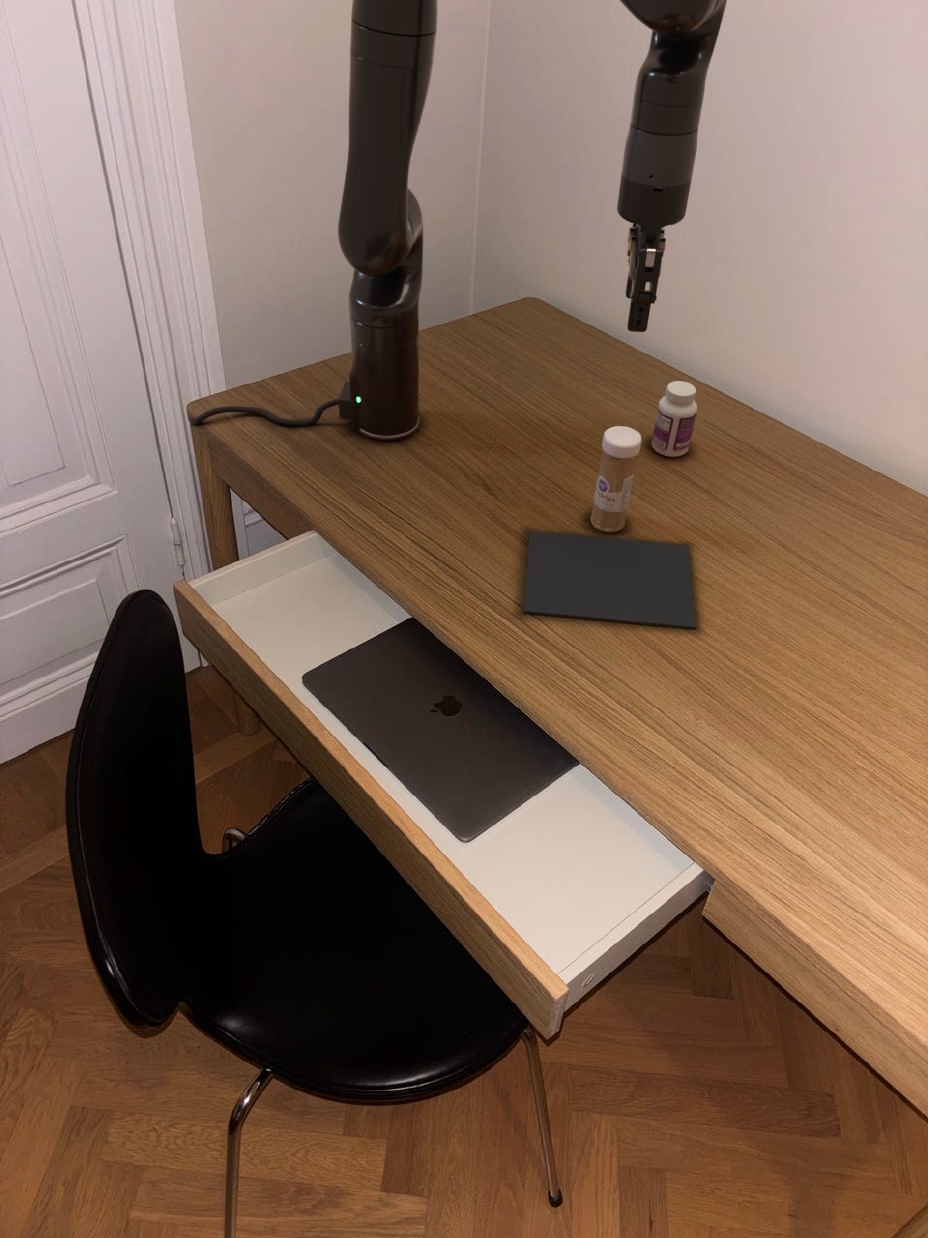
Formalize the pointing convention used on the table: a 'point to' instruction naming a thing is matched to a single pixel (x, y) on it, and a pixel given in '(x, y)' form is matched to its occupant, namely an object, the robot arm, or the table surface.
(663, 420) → the pill bottle
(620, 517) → the sprinkles bottle
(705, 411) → the table surface
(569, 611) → the mat
